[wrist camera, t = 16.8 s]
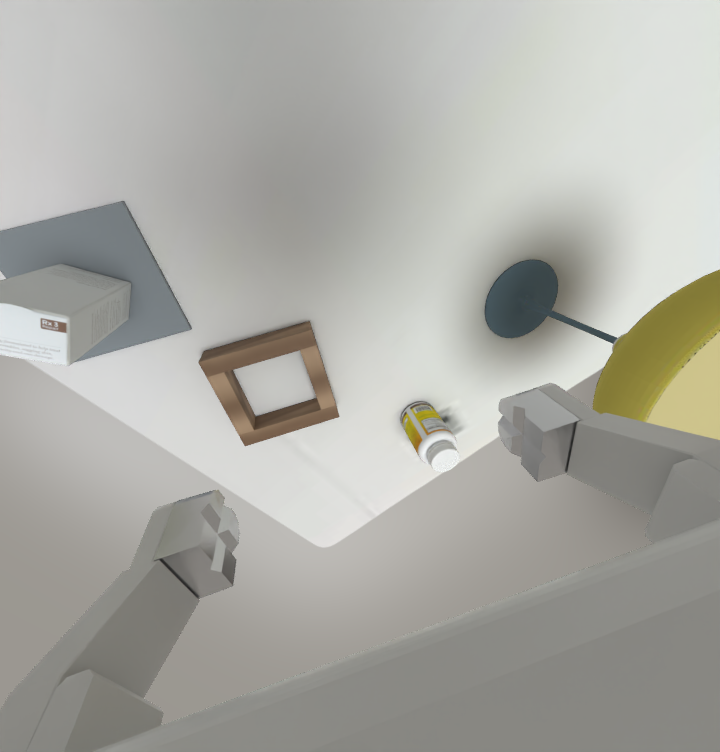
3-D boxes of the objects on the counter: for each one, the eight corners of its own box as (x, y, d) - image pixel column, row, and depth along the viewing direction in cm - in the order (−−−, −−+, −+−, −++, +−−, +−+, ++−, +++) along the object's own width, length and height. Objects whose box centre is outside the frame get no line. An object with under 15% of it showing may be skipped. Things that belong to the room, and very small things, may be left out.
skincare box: (62, 304, 32) (-43, 354, 22) (60, 259, 30) (-55, 290, 20) (133, 320, 34) (68, 372, 24) (135, 279, 32) (66, 317, 22)
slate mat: (-23, 237, 28) (-26, 237, 28) (123, 201, 29) (122, 201, 29) (75, 360, 35) (73, 362, 35) (191, 328, 36) (190, 329, 36)
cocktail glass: (440, 349, 45) (585, 487, 23) (496, 210, 37) (787, 225, 16) (538, 367, 50) (728, 491, 29) (605, 249, 43) (929, 299, 21)
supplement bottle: (412, 435, 51) (439, 483, 43) (393, 416, 49) (417, 463, 40) (439, 414, 51) (472, 459, 42) (421, 393, 48) (453, 437, 39)
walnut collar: (203, 351, 38) (198, 362, 35) (309, 321, 39) (311, 329, 36) (247, 432, 44) (245, 446, 42) (336, 404, 45) (339, 416, 43)
